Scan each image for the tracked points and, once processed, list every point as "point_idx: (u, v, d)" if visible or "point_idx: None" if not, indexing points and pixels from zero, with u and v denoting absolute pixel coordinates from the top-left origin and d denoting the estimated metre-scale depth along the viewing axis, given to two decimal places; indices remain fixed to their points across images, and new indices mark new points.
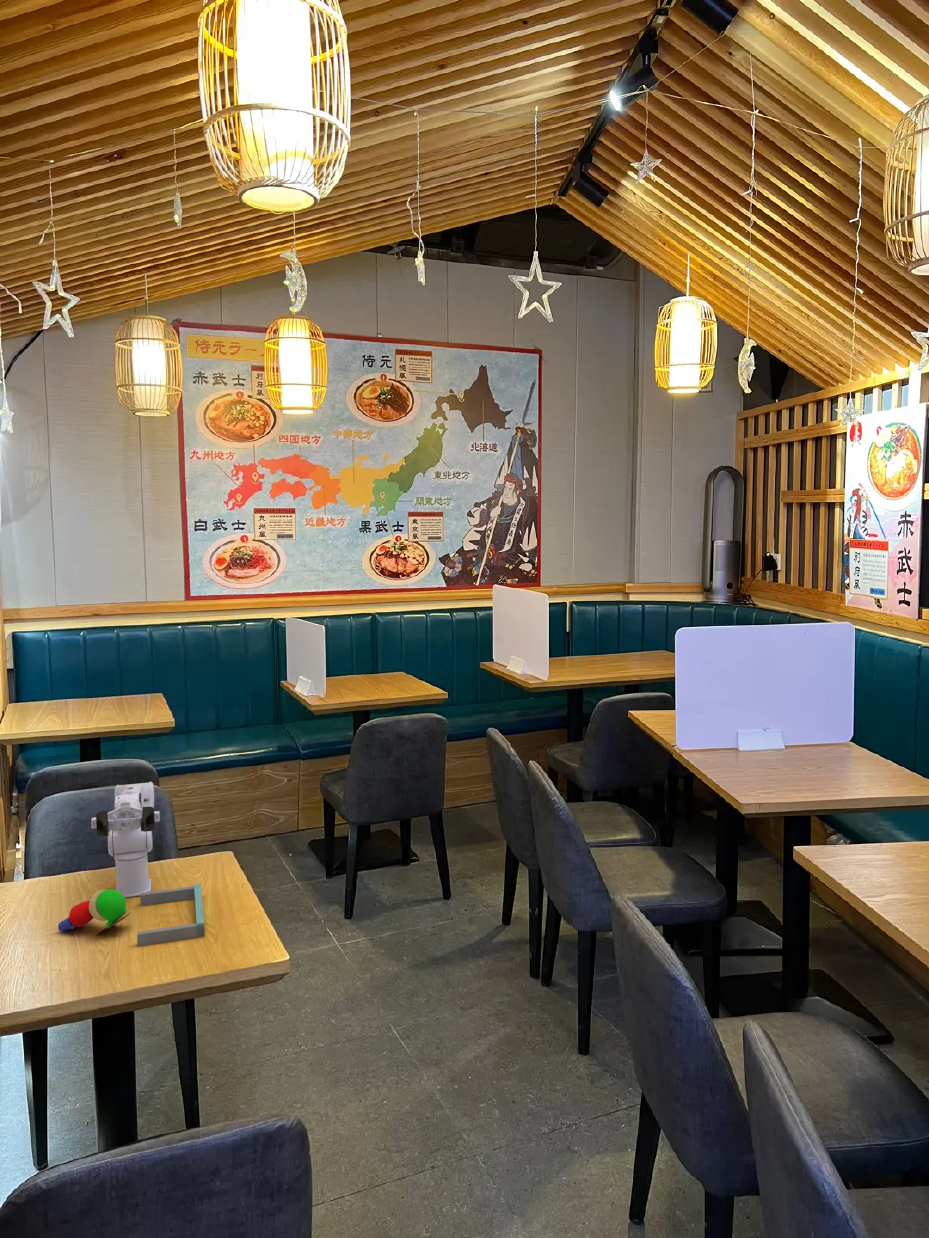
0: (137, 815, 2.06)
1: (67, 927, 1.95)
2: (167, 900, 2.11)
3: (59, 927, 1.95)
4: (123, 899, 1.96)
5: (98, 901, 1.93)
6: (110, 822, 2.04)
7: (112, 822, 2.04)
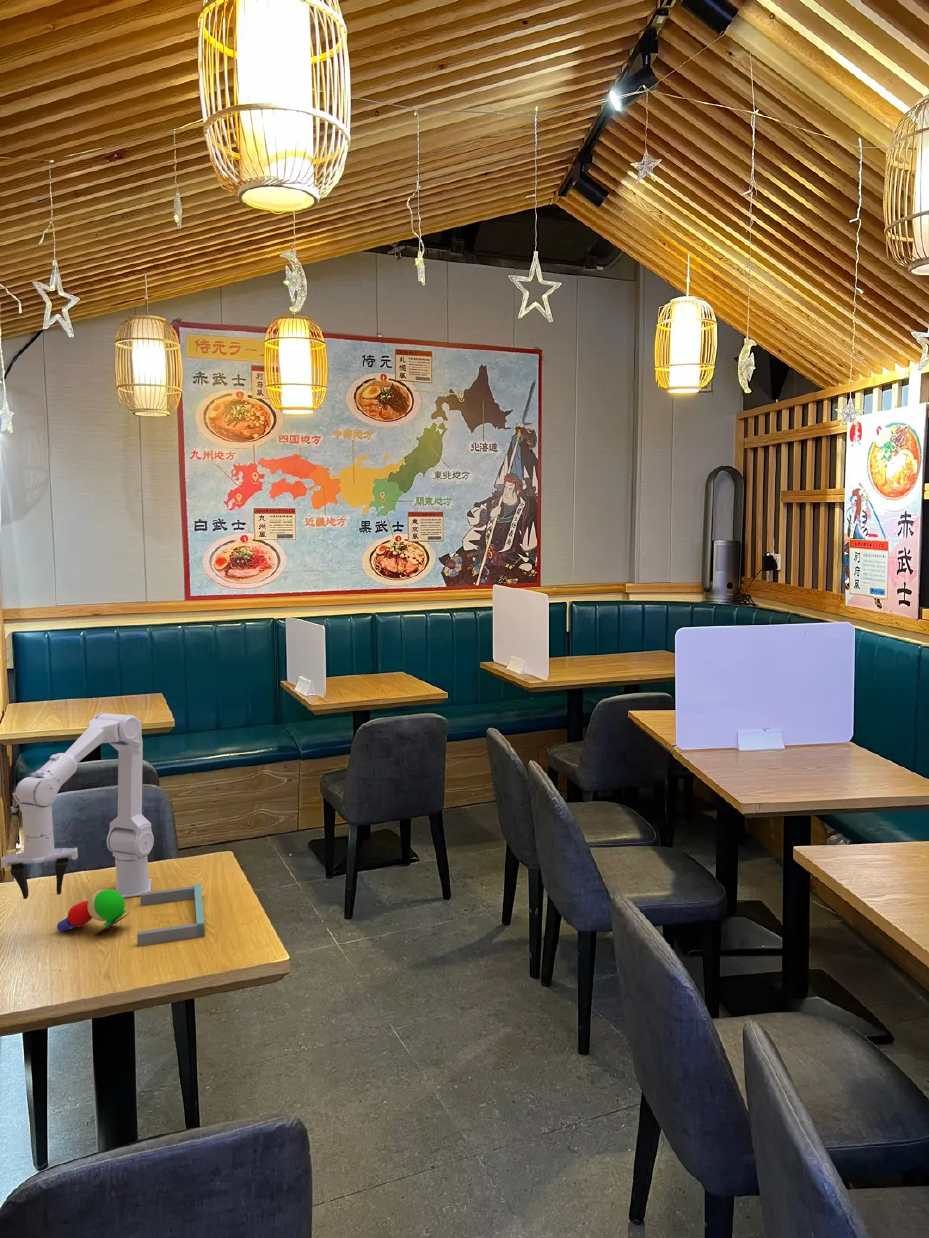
0: None
1: (66, 927, 1.95)
2: (167, 900, 2.11)
3: (58, 928, 1.95)
4: (122, 899, 1.96)
5: (97, 901, 1.93)
6: None
7: None
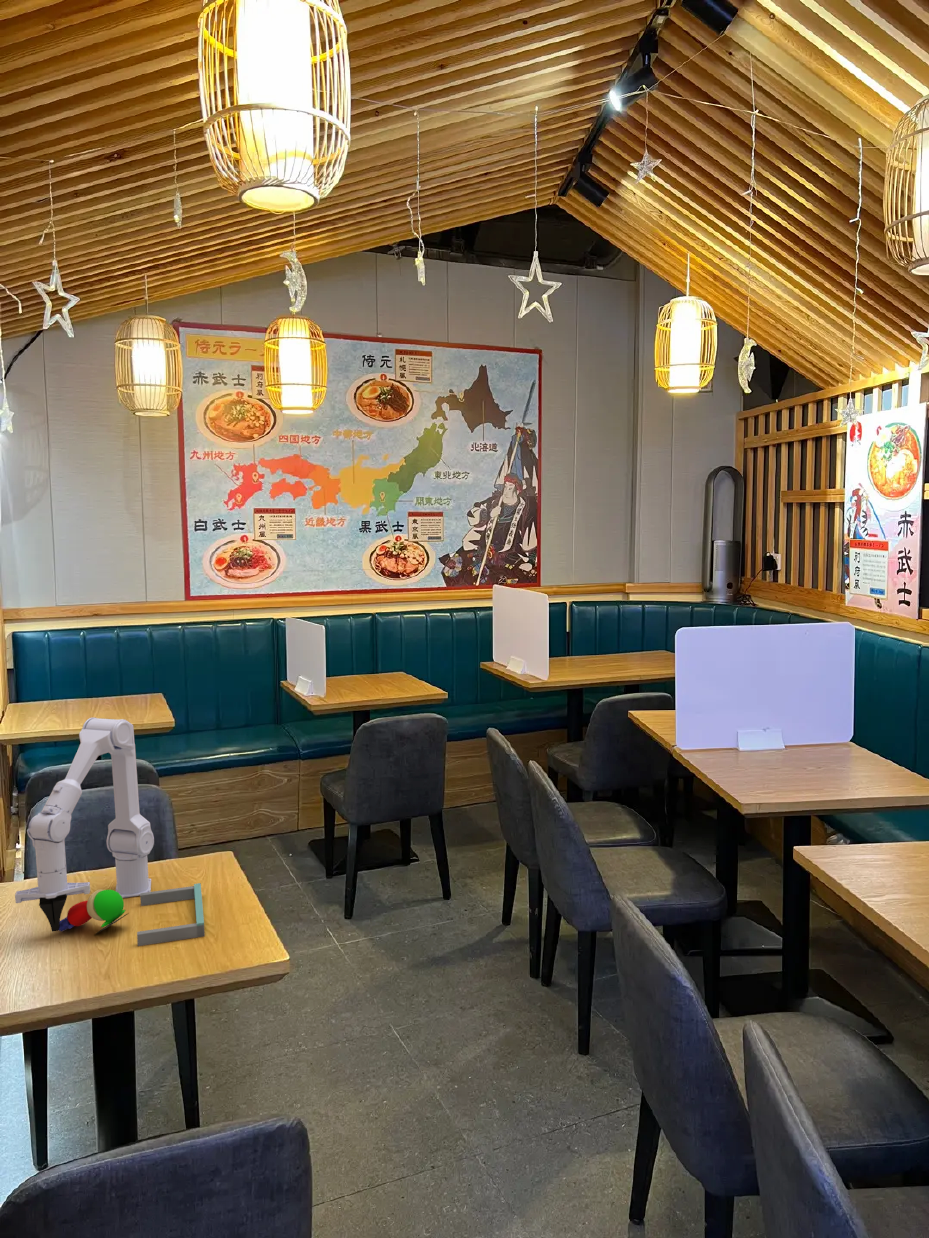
0: None
1: (65, 926, 1.96)
2: (167, 900, 2.11)
3: None
4: (121, 899, 1.96)
5: (95, 901, 1.93)
6: None
7: None
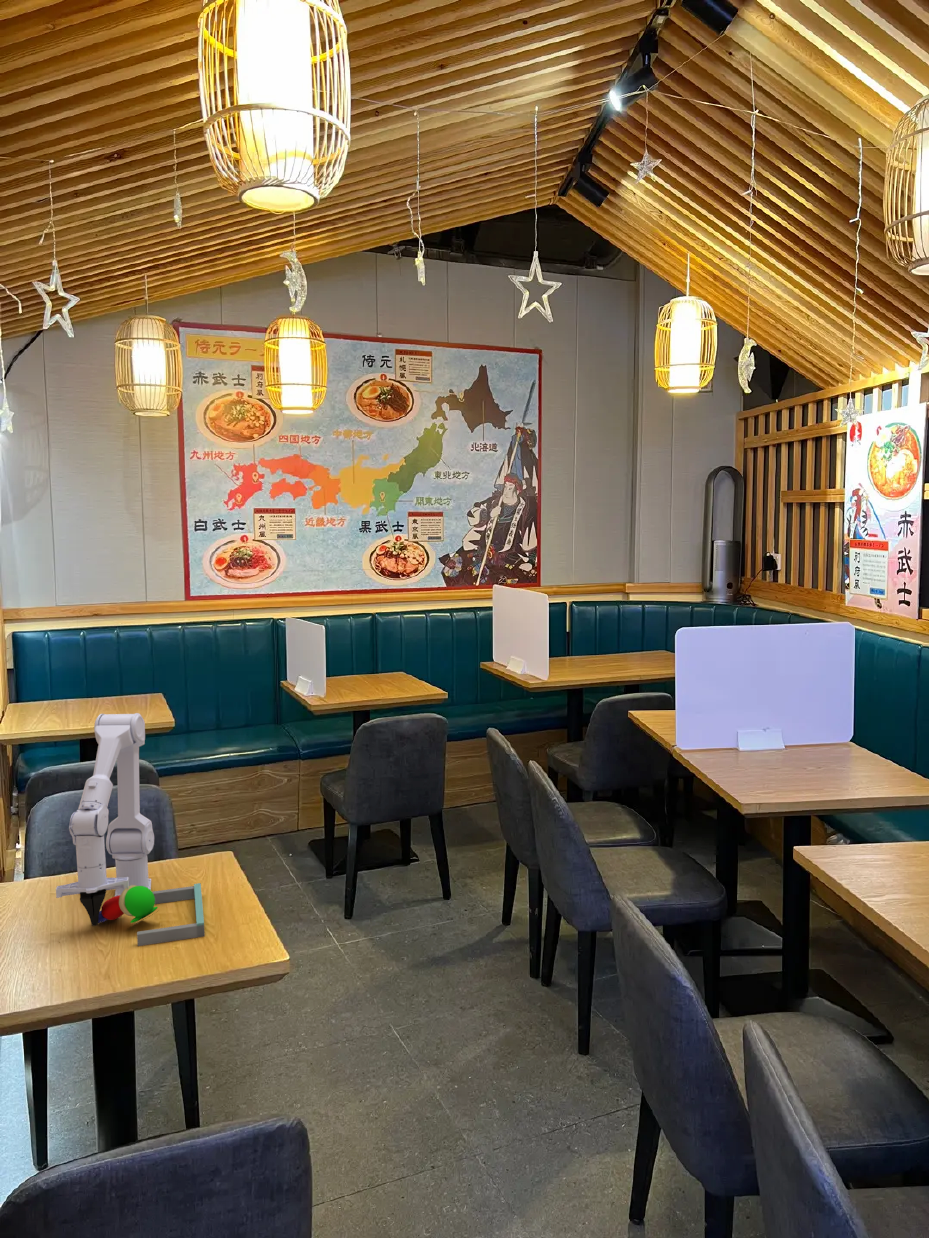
0: None
1: (100, 919, 1.99)
2: (167, 900, 2.11)
3: None
4: (151, 896, 1.97)
5: (126, 897, 1.95)
6: None
7: None
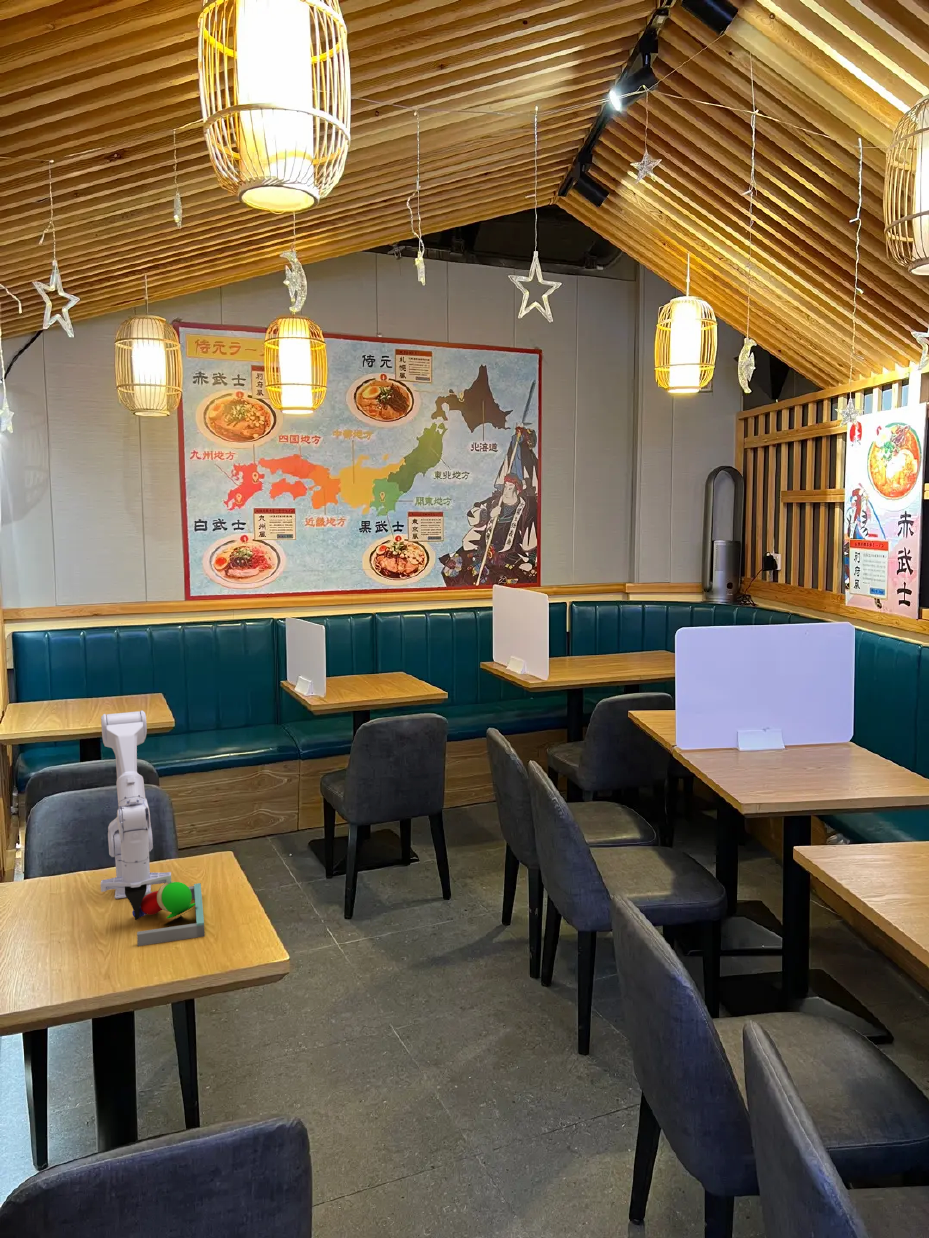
0: None
1: (139, 914, 2.01)
2: None
3: (133, 913, 2.02)
4: (187, 893, 1.98)
5: (163, 892, 1.97)
6: None
7: None
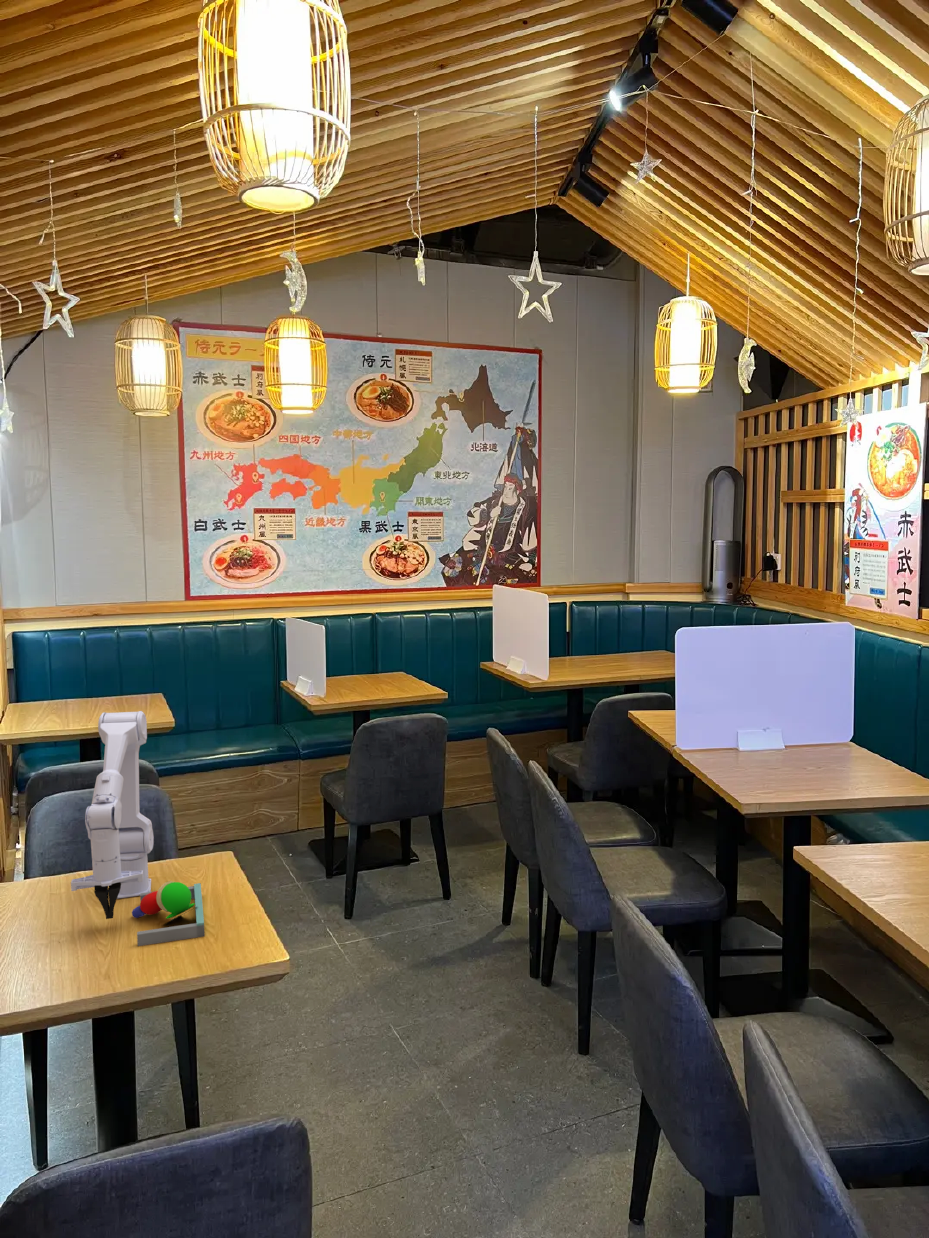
0: None
1: (139, 914, 2.01)
2: None
3: (132, 913, 2.02)
4: (187, 893, 1.98)
5: (163, 892, 1.97)
6: None
7: None
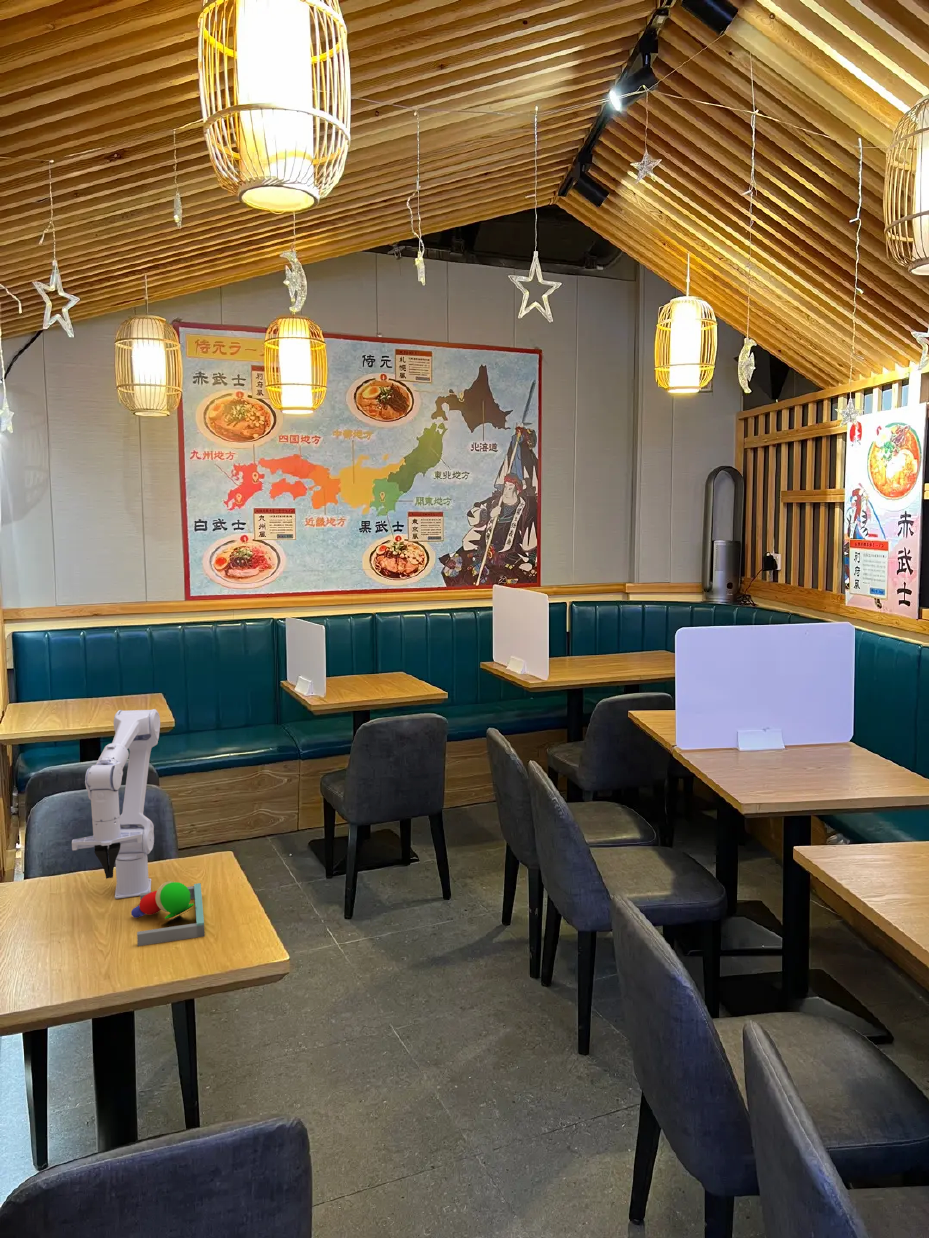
0: None
1: (138, 914, 2.01)
2: None
3: (132, 913, 2.02)
4: (186, 893, 1.98)
5: (162, 892, 1.97)
6: None
7: None
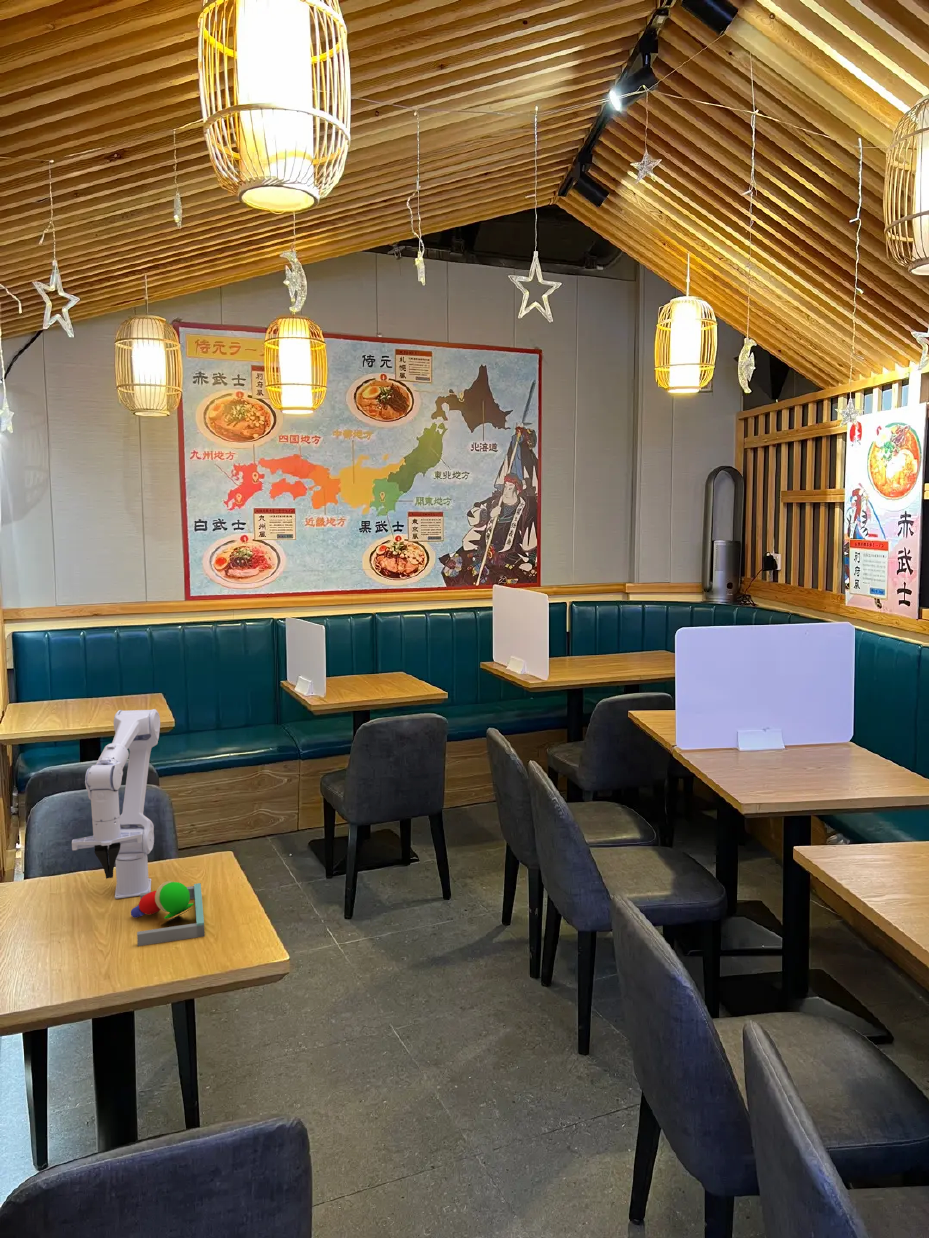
0: None
1: (137, 913, 2.02)
2: None
3: (131, 913, 2.02)
4: (185, 893, 1.98)
5: (161, 892, 1.97)
6: None
7: None
